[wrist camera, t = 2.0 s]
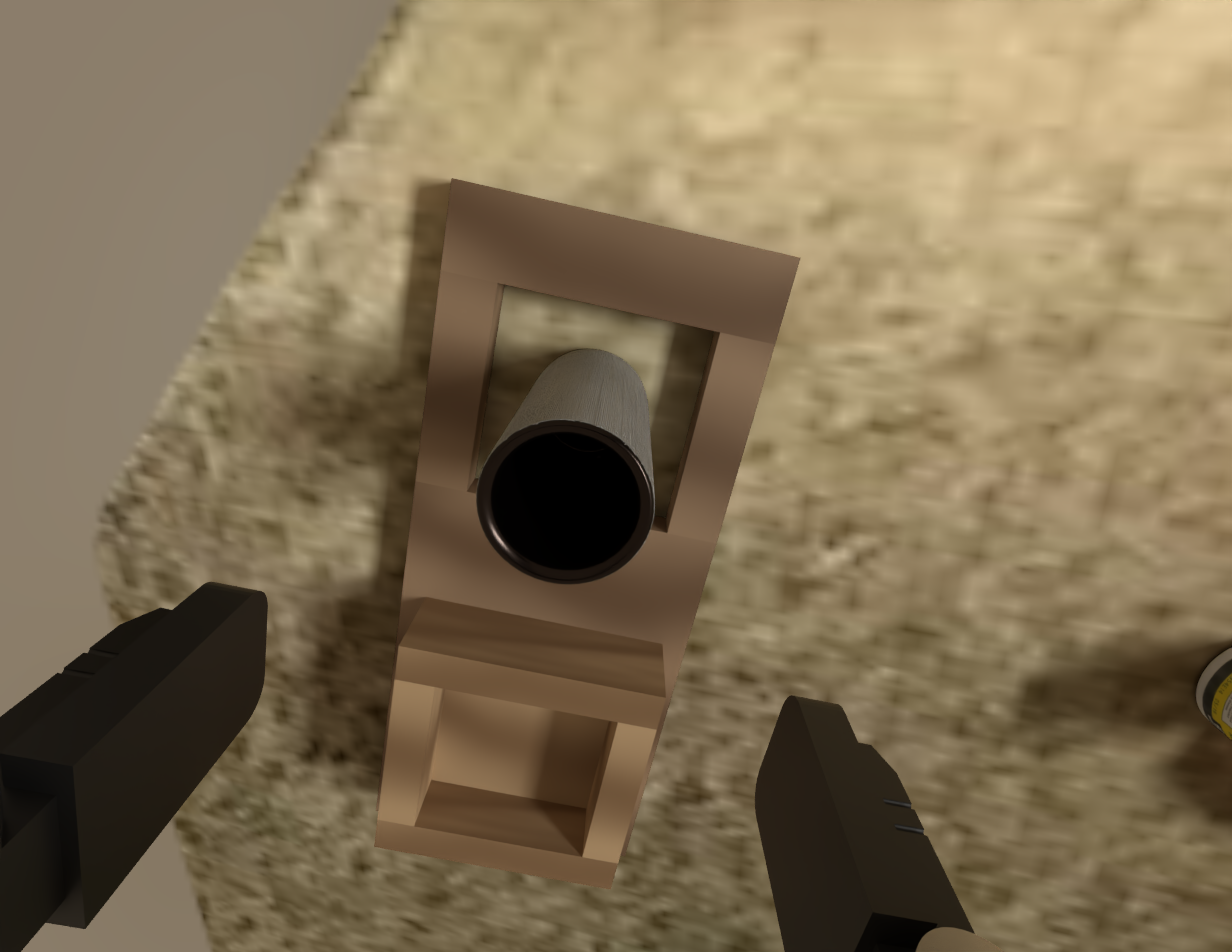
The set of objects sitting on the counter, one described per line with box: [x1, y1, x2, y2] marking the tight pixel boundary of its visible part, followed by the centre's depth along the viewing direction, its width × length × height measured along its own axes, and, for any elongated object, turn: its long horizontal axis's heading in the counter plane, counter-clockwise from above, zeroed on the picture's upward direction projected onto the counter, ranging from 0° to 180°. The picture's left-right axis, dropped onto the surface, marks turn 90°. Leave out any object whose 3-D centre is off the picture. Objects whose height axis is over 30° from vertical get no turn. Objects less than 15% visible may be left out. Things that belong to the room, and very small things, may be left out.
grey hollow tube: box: [476, 349, 655, 585], centre depth 22 cm, size 4×4×10 cm
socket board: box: [374, 178, 800, 889], centre depth 27 cm, size 28×12×5 cm, turn 168°
